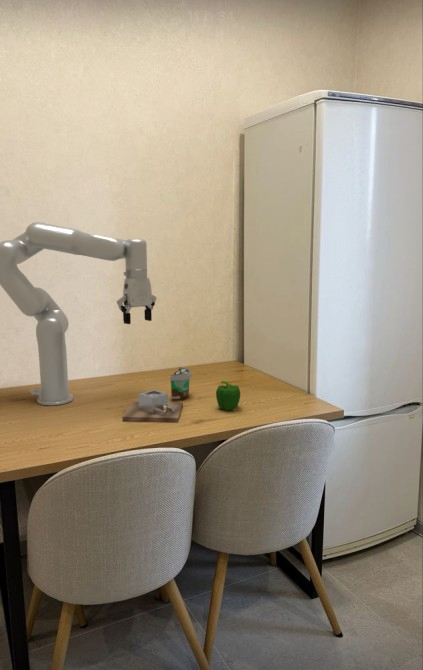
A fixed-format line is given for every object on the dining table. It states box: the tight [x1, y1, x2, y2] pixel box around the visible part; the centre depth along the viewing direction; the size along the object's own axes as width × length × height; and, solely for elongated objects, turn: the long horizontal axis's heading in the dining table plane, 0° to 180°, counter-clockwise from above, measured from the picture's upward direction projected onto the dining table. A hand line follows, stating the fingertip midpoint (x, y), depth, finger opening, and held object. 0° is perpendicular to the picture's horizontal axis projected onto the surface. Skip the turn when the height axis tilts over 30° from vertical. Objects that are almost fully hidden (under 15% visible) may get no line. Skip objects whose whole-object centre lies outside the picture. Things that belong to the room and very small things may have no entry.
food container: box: [169, 366, 192, 402], centre depth 195 cm, size 12×6×10 cm, turn 168°
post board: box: [121, 394, 184, 423], centre depth 177 cm, size 18×16×6 cm
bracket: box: [137, 389, 175, 416], centre depth 176 cm, size 11×7×6 cm, turn 47°
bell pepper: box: [215, 379, 241, 411], centre depth 182 cm, size 8×8×10 cm
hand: (137, 322), depth 190 cm, fingers open, 9 cm apart
